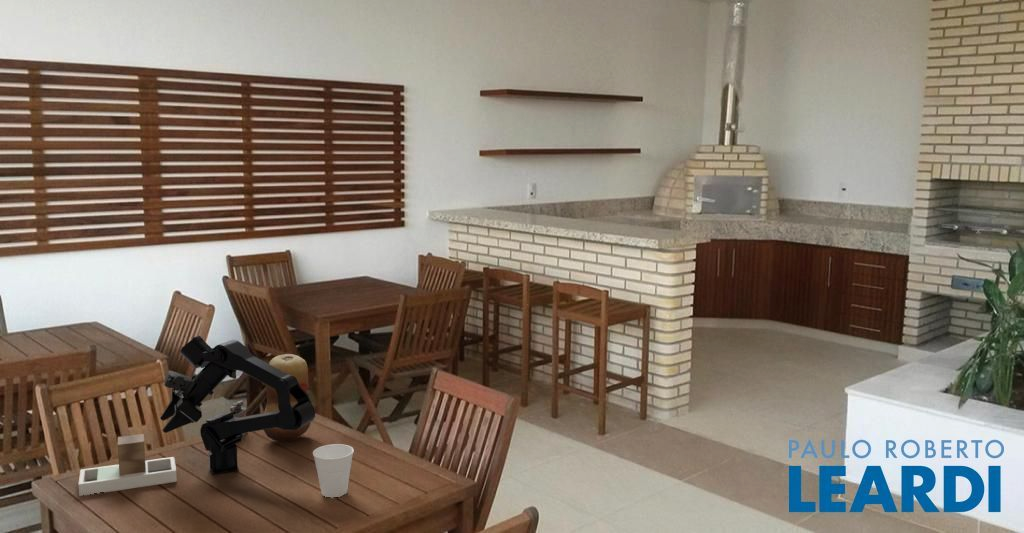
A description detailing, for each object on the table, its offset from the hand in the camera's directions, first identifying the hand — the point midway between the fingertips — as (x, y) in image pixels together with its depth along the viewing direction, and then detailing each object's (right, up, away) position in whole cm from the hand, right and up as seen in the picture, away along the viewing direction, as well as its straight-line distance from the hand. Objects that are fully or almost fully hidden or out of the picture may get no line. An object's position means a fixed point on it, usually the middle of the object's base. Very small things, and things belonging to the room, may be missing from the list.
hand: (162, 425), depth 211 cm
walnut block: (-7, -11, -2) cm, 13 cm away
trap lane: (-8, -14, -2) cm, 16 cm away
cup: (+46, -16, -8) cm, 49 cm away
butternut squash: (+24, -10, +28) cm, 39 cm away
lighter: (+9, -9, +31) cm, 34 cm away
